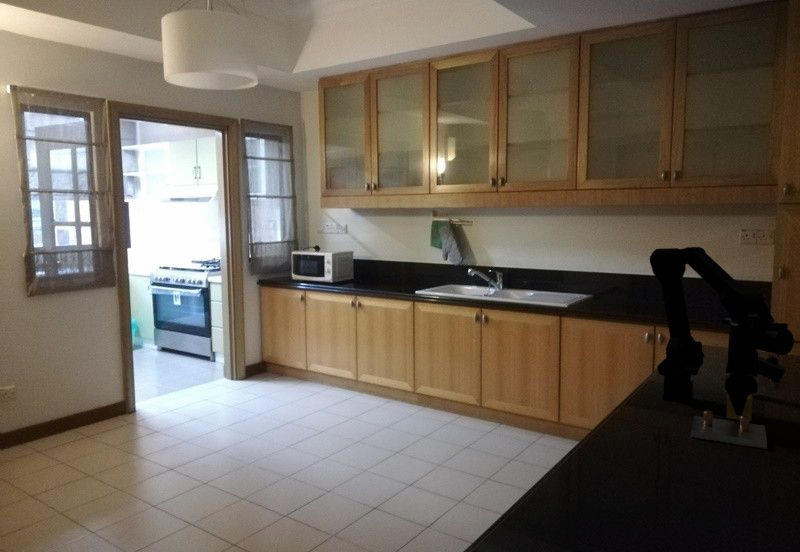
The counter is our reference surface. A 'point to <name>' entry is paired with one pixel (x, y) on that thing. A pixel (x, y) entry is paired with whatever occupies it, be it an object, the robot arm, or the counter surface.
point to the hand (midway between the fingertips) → (738, 412)
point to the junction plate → (729, 431)
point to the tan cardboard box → (746, 411)
